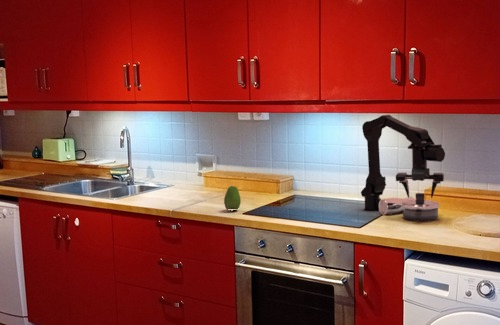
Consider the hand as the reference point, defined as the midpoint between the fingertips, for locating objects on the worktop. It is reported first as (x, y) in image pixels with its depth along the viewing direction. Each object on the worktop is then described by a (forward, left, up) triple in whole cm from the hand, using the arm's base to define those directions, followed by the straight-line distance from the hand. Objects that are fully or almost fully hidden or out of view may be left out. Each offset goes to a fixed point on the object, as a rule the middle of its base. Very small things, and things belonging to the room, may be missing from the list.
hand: (420, 197), depth 244 cm
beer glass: (-5, +14, -6) cm, 16 cm away
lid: (0, -1, -4) cm, 4 cm away
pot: (0, -2, -8) cm, 9 cm away
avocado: (-85, +2, -9) cm, 85 cm away
